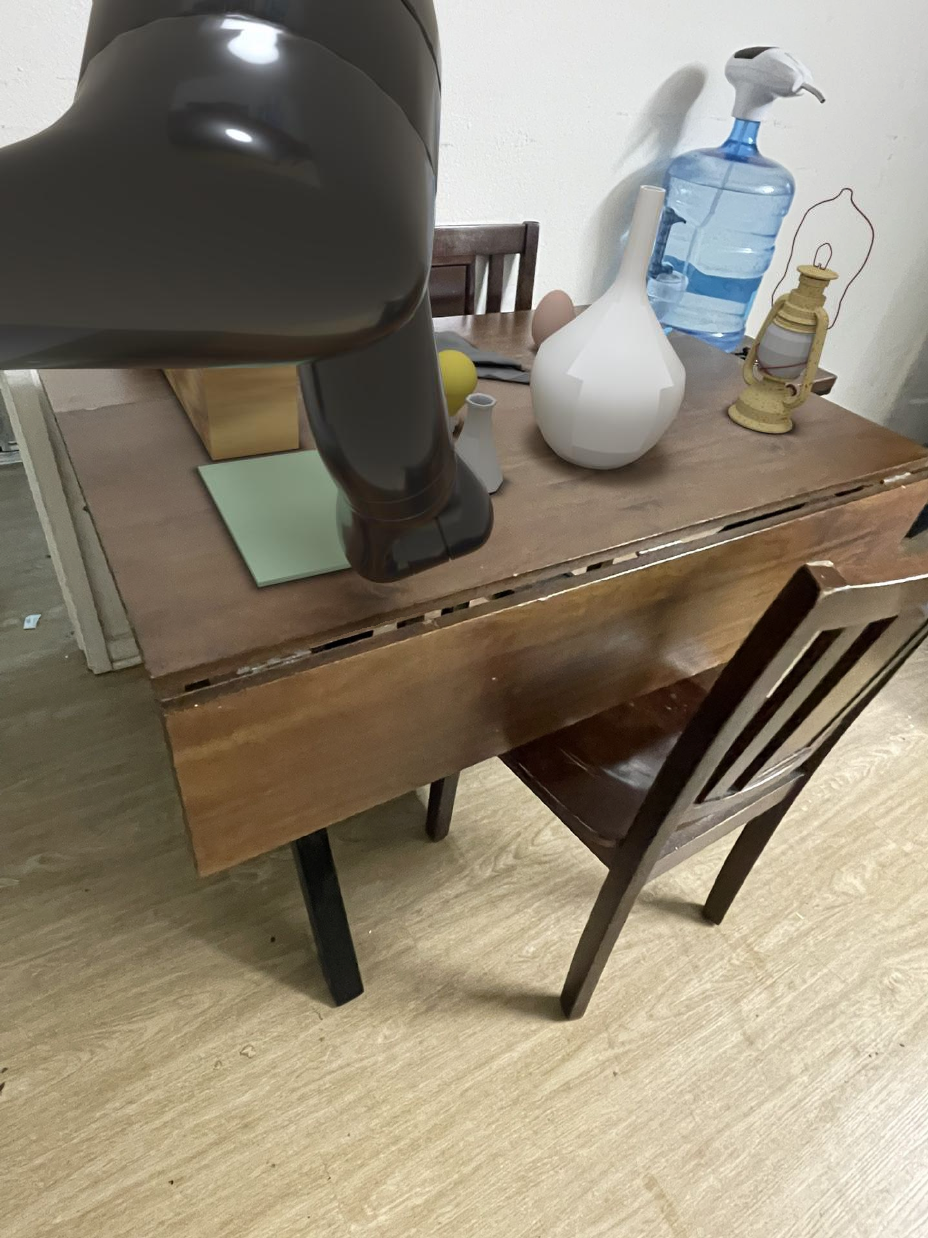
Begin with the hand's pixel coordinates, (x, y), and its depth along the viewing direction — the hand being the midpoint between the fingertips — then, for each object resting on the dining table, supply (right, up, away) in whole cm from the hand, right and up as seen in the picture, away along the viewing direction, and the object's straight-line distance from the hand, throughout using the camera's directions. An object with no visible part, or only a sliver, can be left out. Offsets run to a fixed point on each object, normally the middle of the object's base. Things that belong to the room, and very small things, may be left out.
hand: (273, 154), depth 59 cm
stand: (-16, -9, +36) cm, 41 cm away
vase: (+31, -15, +37) cm, 51 cm away
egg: (+28, +6, +62) cm, 69 cm away
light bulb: (+12, -12, +38) cm, 42 cm away
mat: (-3, -25, +19) cm, 32 cm away
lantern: (+58, -7, +51) cm, 78 cm away
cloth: (+14, +3, +56) cm, 58 cm away
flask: (+16, -21, +28) cm, 38 cm away
